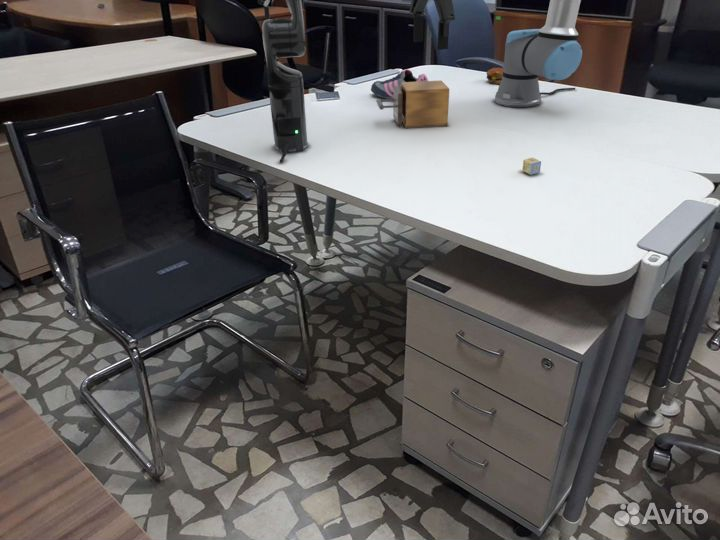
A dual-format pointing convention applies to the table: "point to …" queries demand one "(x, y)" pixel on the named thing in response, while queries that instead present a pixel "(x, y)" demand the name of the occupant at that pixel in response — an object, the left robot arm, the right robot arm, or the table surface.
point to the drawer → (396, 104)
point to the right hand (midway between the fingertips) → (429, 45)
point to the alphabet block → (531, 166)
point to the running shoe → (394, 83)
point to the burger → (495, 75)
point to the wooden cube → (426, 104)
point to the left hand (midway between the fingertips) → (282, 18)
